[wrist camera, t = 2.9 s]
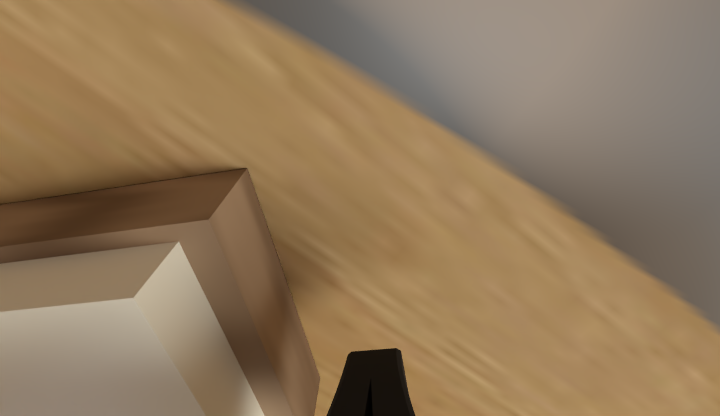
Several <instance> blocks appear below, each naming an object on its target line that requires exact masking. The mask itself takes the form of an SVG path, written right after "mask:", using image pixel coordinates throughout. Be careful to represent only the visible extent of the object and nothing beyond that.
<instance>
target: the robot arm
mask: <svg viewBox="0 0 720 416" xmlns="http://www.w3.org/2000/svg"><path fill="white" fill-rule="evenodd" d="M327 416H415V413H414V411H413V407H412V404H411V401H410V397H409V394H408V388H407V382H406V377H405V371H404V366H403V360H402V354H401V351H400V350H398V349H397V348H393V349H380V350H368V351H355V352H351V353H350V354H348V357H347V360H346V364H345V367H344V370H343V373H342V376H341V379H340V382H339V385H338V388H337V391H336V393H335V396H334V399H333V401H332V404H331V406H330V409H329V411H328V414H327Z"/></svg>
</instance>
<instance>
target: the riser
mask: <svg viewBox="0 0 720 416" xmlns="http://www.w3.org/2000/svg"><path fill="white" fill-rule="evenodd" d="M178 241H179V243H180V245H181V247H182V249H183V251H184V253H185V255H186V257H187V259H188V261H189V263H190V265H191V267H192V269H193V272H194V274H195V276H196V278H197V280H198V282H199V284H200V286H201V288H202V290H203V292H204V294H205V296H206V298H207V300H208V302H209V304H210V306H211V308H212V310H213V312H214V314H215V316H216V318H217V320H218V322H219V324H220V326H221V328H222V330H223V332H224V334H225V336H226V338H227V340H228V343H229V345H230V347H231V349H232V351H233V353H234V355H235V357H236V359H237V361H238V363H239V365H240V367H241V369H242V371H243V373H244V375H245V377H246V379H247V381H248V383H249V385H250V387H251V389H252V391H253V393H254V395H255V397H256V399H257V401H258V403H259V405H260V407H261V409H262V411H263V413H264V416H314V413H315V407H316V401H317V394H318V388H319V382H320V376H319V373H318V371H317V368H316V365H315V362H314V359H313V356H312V353H311V350H310V348H309V345H308V342H307V339H306V336H305V333H304V330H303V327H302V325H301V322H300V319H299V316H298V313H297V310H296V307H295V304H294V302H293V299H292V296H291V293H290V290H289V287H288V284H287V281H286V279H285V276H284V273H283V270H282V267H281V264H280V261H279V258H278V256H277V253H276V250H275V247H274V244H273V241H272V238H271V235H270V233H269V230H268V227H267V224H266V221H265V218H264V215H263V212H262V210H261V207H260V204H259V201H258V198H257V195H256V192H255V189H254V186H253V184H252V181H251V178H250V175H249V172H248V169H247V168H246V169H239V170H233V171H226V172H219V173H212V174H206V175H199V176H192V177H185V178H178V179H172V180H165V181H158V182H151V183H145V184H138V185H131V186H124V187H117V188H111V189H104V190H97V191H90V192H84V193H77V194H70V195H63V196H56V197H50V198H43V199H36V200H29V201H22V202H16V203H9V204H2V205H0V264H2V263H10V262H18V261H26V260H34V259H42V258H50V257H58V256H66V255H74V254H82V253H90V252H98V251H106V250H114V249H122V248H130V247H138V246H146V245H154V244H162V243H170V242H178Z"/></svg>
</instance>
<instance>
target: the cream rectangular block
mask: <svg viewBox="0 0 720 416" xmlns="http://www.w3.org/2000/svg"><path fill="white" fill-rule="evenodd" d="M0 416H264V413H263V411H262V409H261V407H260V405H259V403H258V401H257V399H256V397H255V395H254V393H253V391H252V389H251V387H250V385H249V383H248V381H247V379H246V377H245V375H244V373H243V371H242V369H241V367H240V365H239V363H238V361H237V359H236V357H235V355H234V353H233V351H232V349H231V347H230V345H229V343H228V340H227V338H226V336H225V334H224V332H223V330H222V328H221V326H220V324H219V322H218V320H217V318H216V316H215V314H214V312H213V310H212V308H211V306H210V304H209V302H208V300H207V298H206V296H205V294H204V292H203V290H202V288H201V286H200V284H199V282H198V280H197V278H196V276H195V274H194V272H193V269H192V267H191V265H190V263H189V261H188V259H187V257H186V255H185V253H184V251H183V249H182V247H181V245H180V243H179V241H178V242H170V243H162V244H154V245H146V246H138V247H130V248H122V249H114V250H106V251H98V252H90V253H82V254H74V255H66V256H58V257H50V258H42V259H34V260H26V261H18V262H10V263H2V264H0Z"/></svg>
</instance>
